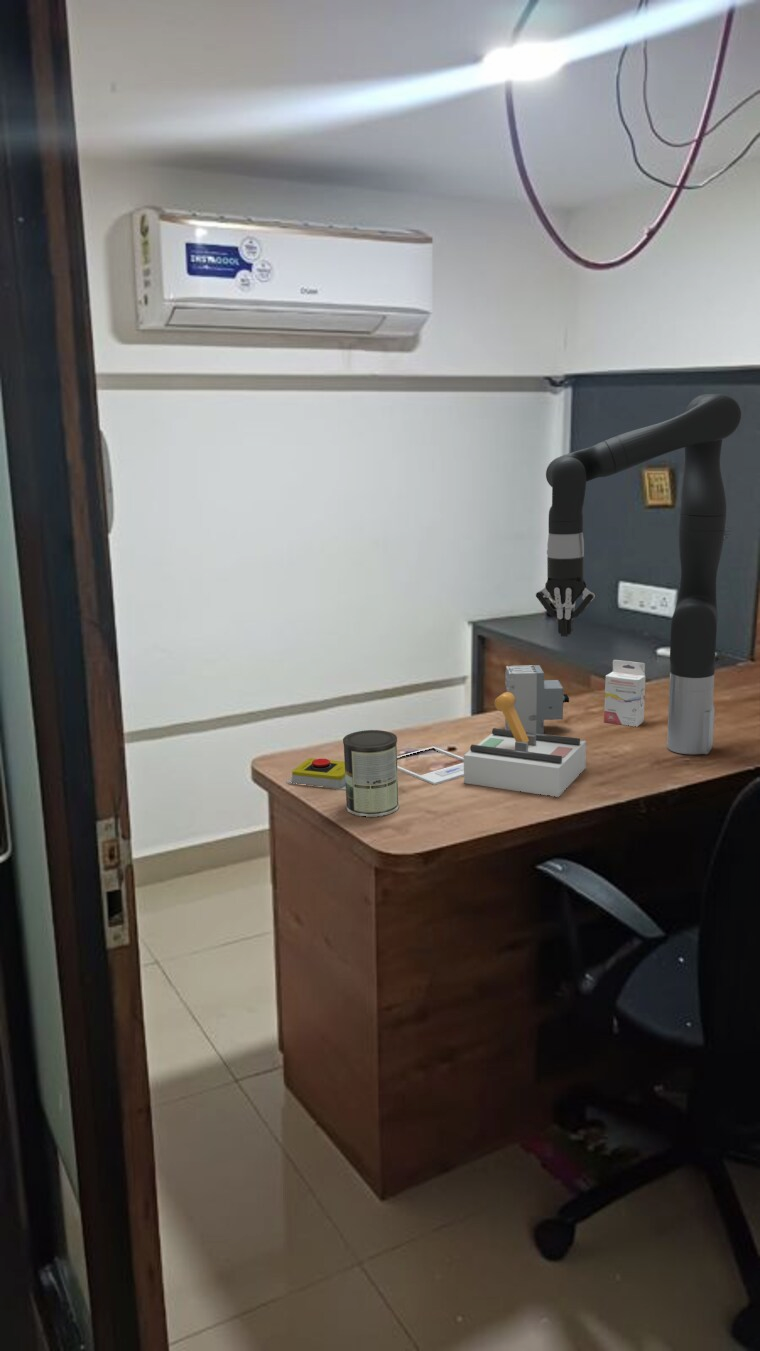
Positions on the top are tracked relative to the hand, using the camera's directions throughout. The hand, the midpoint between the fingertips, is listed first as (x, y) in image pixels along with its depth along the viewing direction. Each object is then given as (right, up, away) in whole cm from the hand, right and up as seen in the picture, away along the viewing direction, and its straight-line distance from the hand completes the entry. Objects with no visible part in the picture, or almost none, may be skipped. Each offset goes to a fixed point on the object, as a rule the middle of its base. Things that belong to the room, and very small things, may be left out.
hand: (565, 635), depth 212 cm
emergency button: (-51, -31, -3) cm, 59 cm away
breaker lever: (-9, -23, -7) cm, 26 cm away
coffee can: (-41, -34, -19) cm, 57 cm away
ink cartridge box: (+19, -20, +28) cm, 40 cm away
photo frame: (-28, -28, +3) cm, 40 cm away
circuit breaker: (-2, -22, +24) cm, 32 cm away
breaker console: (-9, -29, -5) cm, 31 cm away
